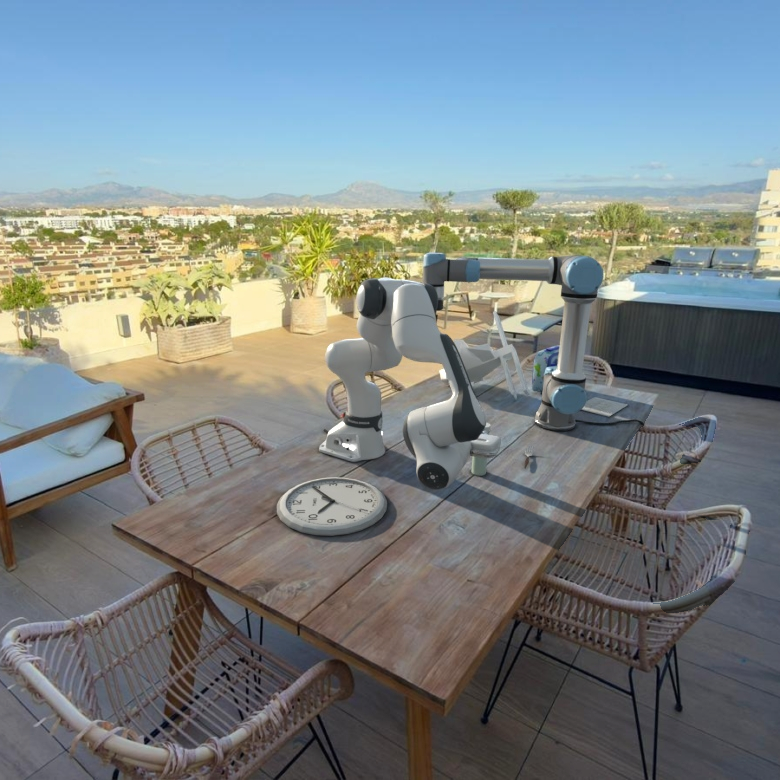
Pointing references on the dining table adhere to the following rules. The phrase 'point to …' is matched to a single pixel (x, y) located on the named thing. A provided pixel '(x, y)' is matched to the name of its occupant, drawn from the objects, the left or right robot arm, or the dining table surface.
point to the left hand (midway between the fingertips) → (466, 430)
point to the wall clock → (331, 506)
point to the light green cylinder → (479, 465)
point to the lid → (487, 427)
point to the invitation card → (603, 406)
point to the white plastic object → (488, 360)
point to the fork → (528, 455)
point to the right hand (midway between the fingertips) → (430, 357)
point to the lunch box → (543, 366)
